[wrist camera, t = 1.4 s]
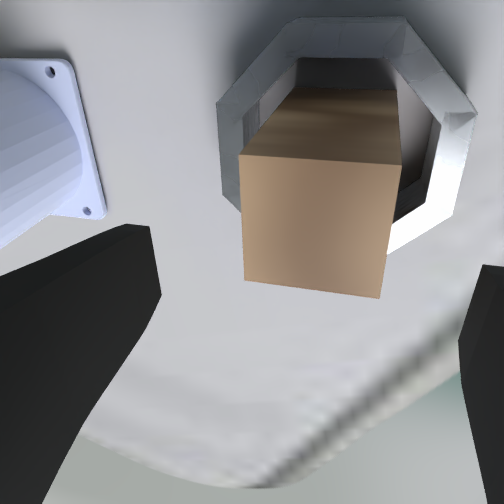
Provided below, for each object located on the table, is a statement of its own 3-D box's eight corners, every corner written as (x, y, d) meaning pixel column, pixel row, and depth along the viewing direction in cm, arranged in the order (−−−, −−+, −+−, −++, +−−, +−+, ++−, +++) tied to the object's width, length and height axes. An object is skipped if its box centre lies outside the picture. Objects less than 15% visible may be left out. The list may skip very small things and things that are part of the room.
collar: (241, 222, 21) (225, 248, 19) (231, 17, 17) (209, 23, 15) (432, 242, 19) (437, 273, 17) (485, 14, 14) (501, 21, 12)
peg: (291, 178, 20) (244, 280, 13) (294, 87, 17) (238, 154, 11) (382, 185, 19) (379, 298, 12) (396, 90, 16) (402, 165, 10)
